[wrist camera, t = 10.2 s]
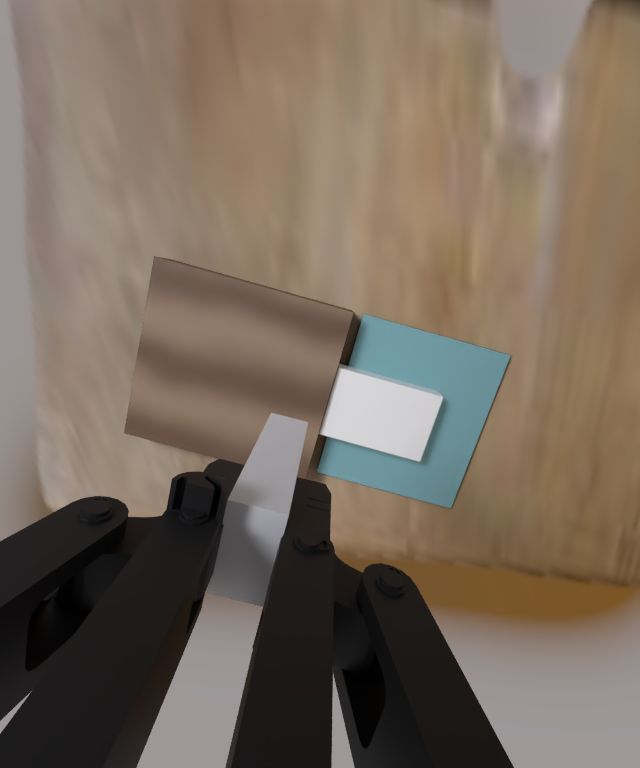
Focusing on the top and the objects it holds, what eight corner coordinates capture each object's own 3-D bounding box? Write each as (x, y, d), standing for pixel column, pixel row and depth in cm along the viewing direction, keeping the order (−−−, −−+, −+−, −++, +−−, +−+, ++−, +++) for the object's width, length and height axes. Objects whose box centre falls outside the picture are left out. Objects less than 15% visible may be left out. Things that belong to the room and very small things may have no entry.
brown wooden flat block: (169, 259, 34) (154, 256, 31) (352, 310, 35) (353, 312, 32) (140, 422, 38) (124, 433, 35) (306, 467, 38) (304, 481, 35)
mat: (363, 313, 35) (363, 314, 34) (508, 354, 35) (510, 355, 35) (317, 469, 38) (316, 472, 38) (449, 505, 39) (450, 508, 38)
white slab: (338, 363, 35) (338, 367, 33) (437, 391, 36) (443, 396, 34) (319, 426, 37) (319, 434, 35) (415, 452, 37) (419, 461, 35)
